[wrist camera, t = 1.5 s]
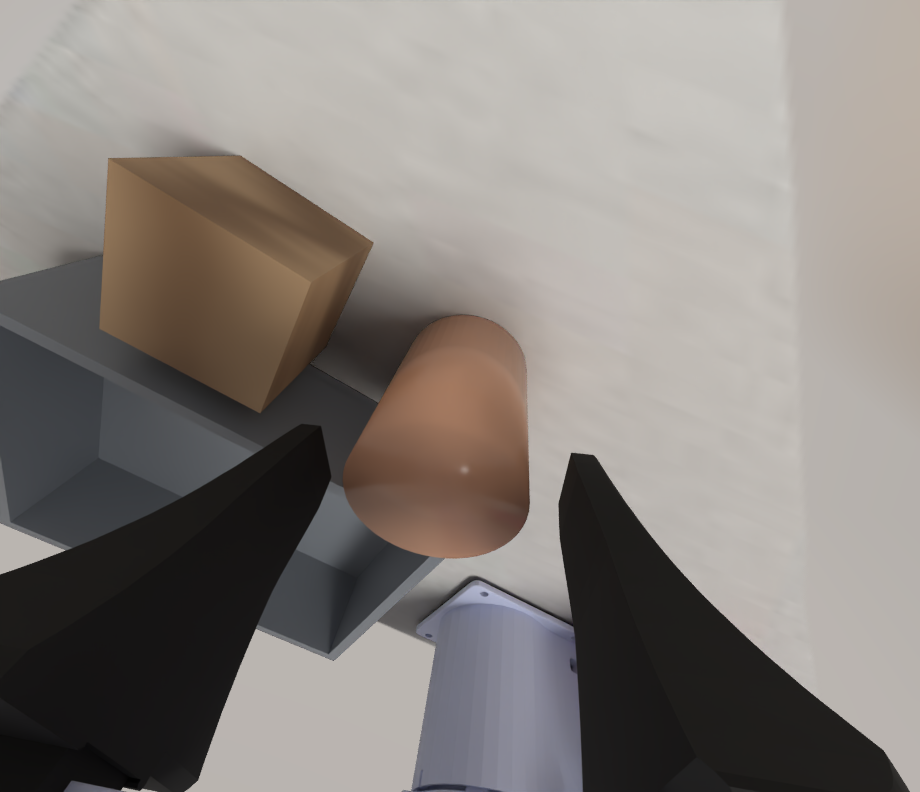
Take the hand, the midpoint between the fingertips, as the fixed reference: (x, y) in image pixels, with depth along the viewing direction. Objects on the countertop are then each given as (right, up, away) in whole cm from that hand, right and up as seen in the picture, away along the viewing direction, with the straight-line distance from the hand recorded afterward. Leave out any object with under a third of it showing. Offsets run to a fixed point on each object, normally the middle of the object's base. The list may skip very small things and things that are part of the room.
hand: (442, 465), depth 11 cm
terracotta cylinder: (+1, +3, +5) cm, 6 cm away
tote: (-10, -1, +9) cm, 13 cm away
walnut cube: (-6, +7, +3) cm, 10 cm away
